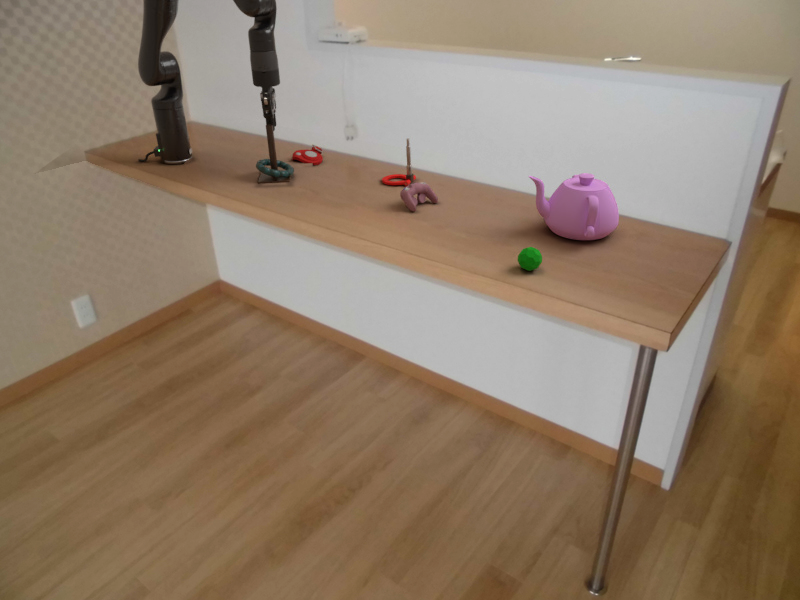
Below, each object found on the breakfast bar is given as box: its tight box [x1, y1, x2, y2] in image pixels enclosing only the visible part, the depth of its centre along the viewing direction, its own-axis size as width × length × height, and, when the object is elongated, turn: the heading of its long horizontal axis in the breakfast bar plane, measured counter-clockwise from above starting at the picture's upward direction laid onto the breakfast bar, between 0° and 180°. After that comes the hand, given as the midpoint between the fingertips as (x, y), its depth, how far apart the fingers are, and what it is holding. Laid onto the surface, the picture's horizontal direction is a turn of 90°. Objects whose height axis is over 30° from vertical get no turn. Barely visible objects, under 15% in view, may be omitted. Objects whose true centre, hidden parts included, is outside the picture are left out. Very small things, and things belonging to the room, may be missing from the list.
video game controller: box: [399, 181, 439, 213], centre depth 162 cm, size 10×5×7 cm, turn 135°
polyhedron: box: [517, 246, 543, 272], centre depth 129 cm, size 5×5×5 cm
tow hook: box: [381, 138, 417, 187], centre depth 177 cm, size 8×13×9 cm
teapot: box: [528, 172, 620, 241], centre depth 144 cm, size 22×22×14 cm
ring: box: [255, 158, 295, 178], centre depth 181 cm, size 11×11×2 cm
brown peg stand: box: [257, 124, 292, 185], centre depth 178 cm, size 9×9×16 cm
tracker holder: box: [291, 144, 324, 166], centre depth 199 cm, size 12×4×10 cm
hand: (271, 128), depth 180 cm, fingers open, 4 cm apart
